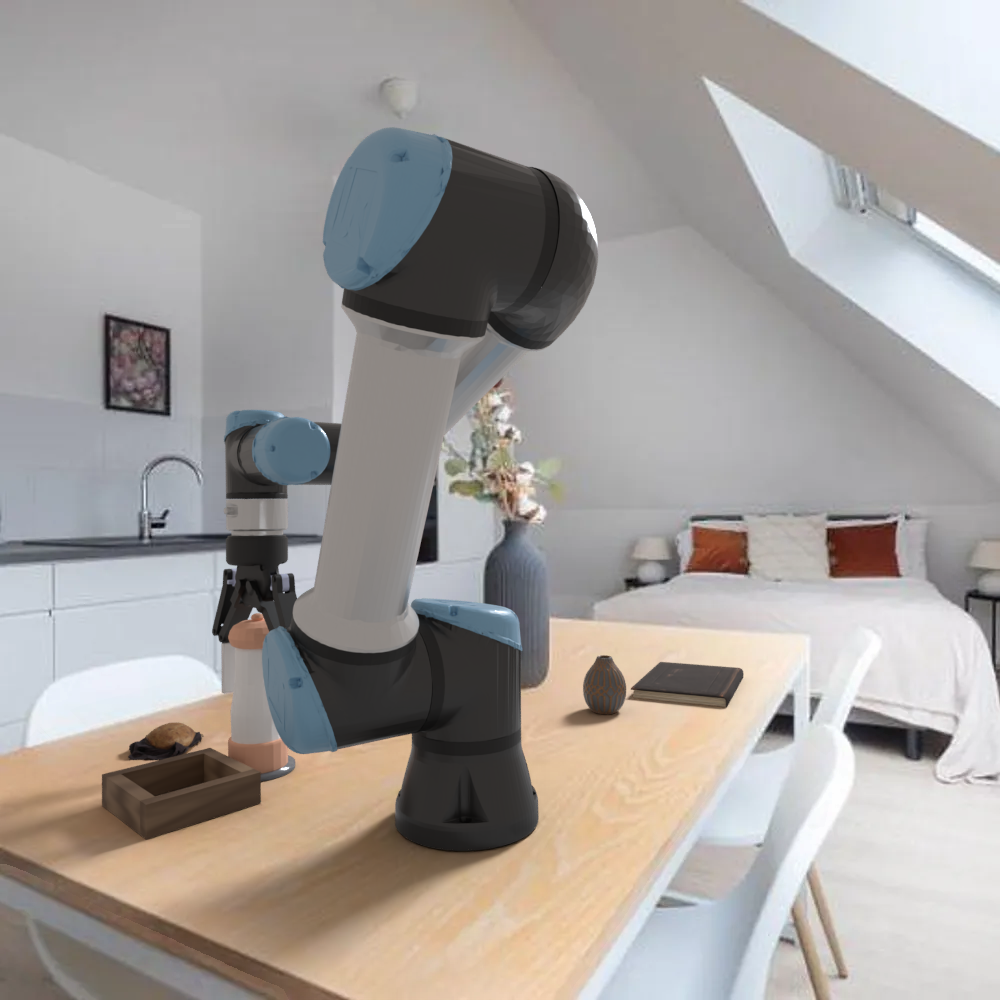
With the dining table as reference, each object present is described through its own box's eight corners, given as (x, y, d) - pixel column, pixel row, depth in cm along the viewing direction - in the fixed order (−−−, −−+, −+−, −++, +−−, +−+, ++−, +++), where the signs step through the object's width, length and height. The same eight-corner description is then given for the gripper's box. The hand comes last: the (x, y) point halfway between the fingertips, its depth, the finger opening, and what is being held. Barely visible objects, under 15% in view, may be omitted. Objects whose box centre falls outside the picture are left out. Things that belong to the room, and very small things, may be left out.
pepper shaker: (223, 777, 91) (222, 618, 91) (232, 757, 98) (231, 610, 98) (285, 772, 92) (284, 616, 93) (290, 753, 100) (289, 608, 100)
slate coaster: (308, 768, 95) (308, 763, 95) (242, 788, 89) (242, 783, 89) (272, 752, 102) (272, 748, 102) (207, 770, 95) (207, 765, 95)
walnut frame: (260, 803, 84) (260, 772, 84) (146, 839, 75) (145, 804, 75) (210, 775, 93) (210, 747, 93) (101, 805, 84) (101, 774, 84)
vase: (634, 710, 121) (634, 656, 121) (610, 719, 116) (609, 663, 116) (599, 703, 126) (599, 650, 126) (574, 711, 121) (574, 657, 121)
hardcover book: (630, 701, 129) (630, 687, 129) (660, 673, 150) (660, 661, 150) (727, 710, 123) (727, 696, 123) (743, 680, 144) (743, 668, 144)
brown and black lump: (151, 740, 110) (150, 715, 110) (209, 739, 110) (209, 713, 110) (117, 765, 99) (117, 737, 99) (182, 763, 99) (182, 735, 99)
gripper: (185, 532, 101) (186, 689, 101) (281, 536, 84) (282, 726, 84) (237, 530, 107) (238, 679, 107) (338, 534, 90) (339, 712, 89)
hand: (258, 700), depth 95 cm, fingers open, 13 cm apart
